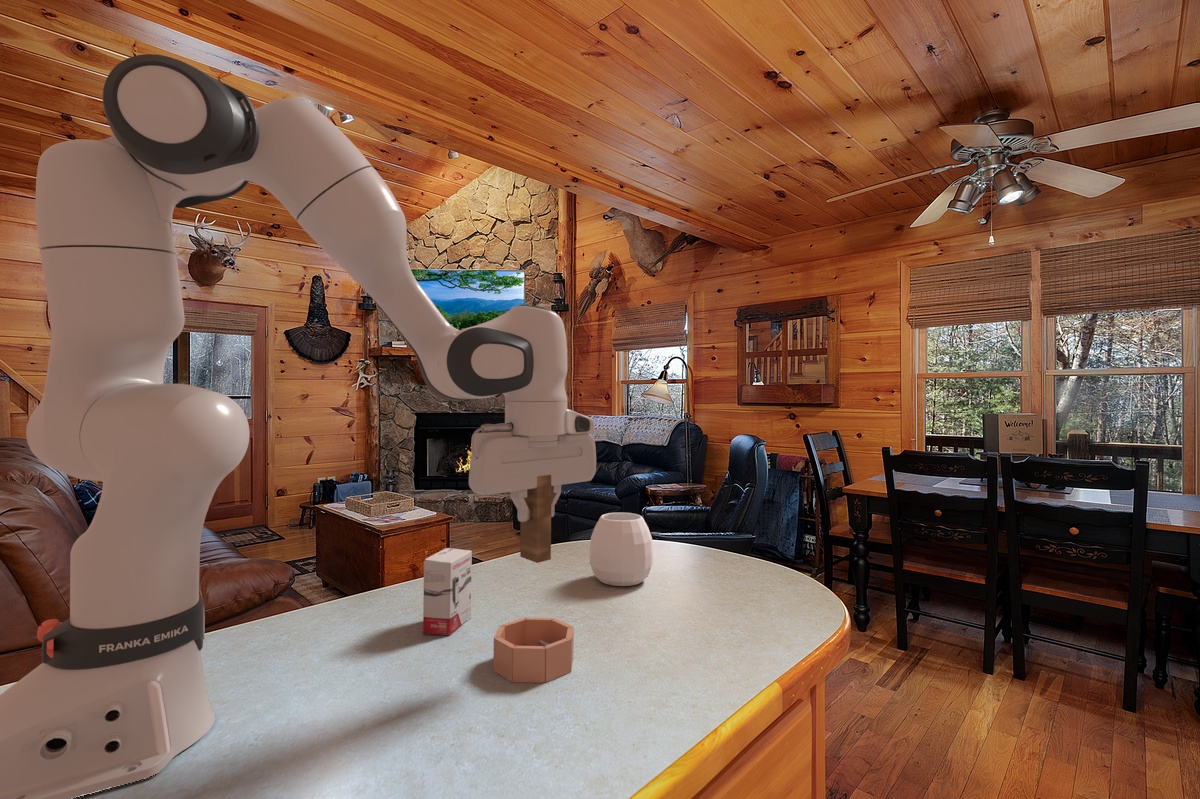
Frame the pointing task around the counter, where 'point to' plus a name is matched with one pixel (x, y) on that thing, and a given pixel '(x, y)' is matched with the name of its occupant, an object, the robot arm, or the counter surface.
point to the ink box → (447, 591)
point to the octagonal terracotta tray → (533, 649)
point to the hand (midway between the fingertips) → (536, 518)
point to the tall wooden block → (537, 523)
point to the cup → (621, 549)
